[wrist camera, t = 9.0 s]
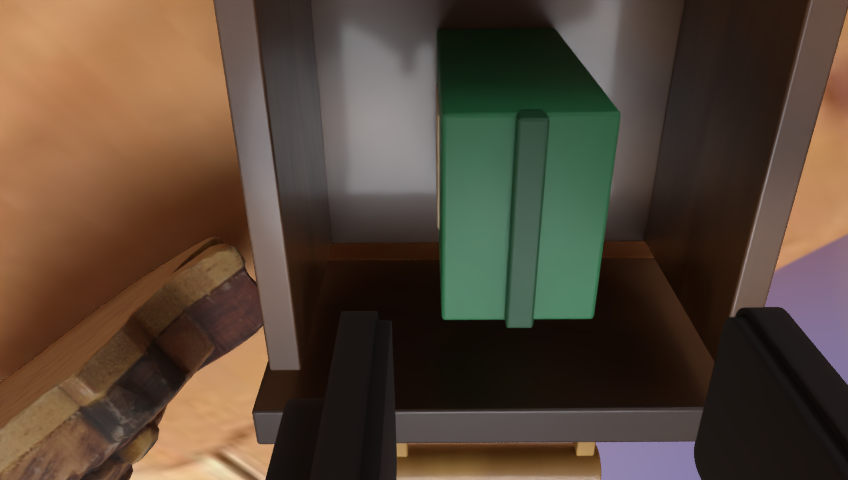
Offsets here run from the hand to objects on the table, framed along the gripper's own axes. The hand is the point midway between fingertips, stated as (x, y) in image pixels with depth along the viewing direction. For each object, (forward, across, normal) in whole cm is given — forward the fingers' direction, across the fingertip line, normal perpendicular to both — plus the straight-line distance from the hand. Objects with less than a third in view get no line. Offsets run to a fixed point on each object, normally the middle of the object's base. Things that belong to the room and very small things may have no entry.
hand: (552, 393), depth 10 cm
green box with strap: (+12, 0, -1) cm, 12 cm away
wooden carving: (+14, +13, +8) cm, 21 cm away
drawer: (+13, 0, +1) cm, 13 cm away
